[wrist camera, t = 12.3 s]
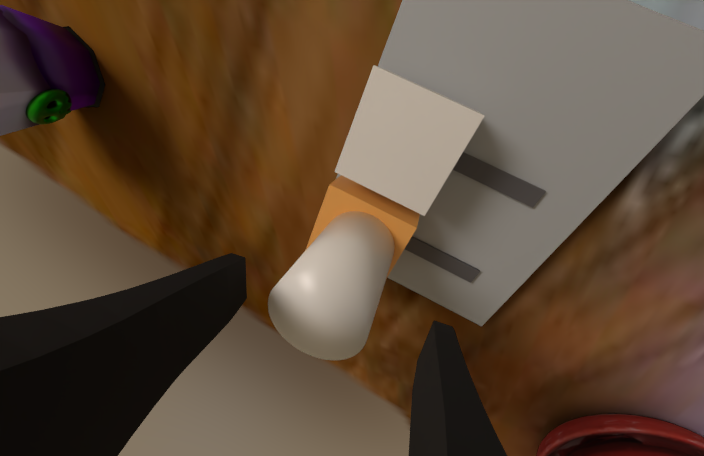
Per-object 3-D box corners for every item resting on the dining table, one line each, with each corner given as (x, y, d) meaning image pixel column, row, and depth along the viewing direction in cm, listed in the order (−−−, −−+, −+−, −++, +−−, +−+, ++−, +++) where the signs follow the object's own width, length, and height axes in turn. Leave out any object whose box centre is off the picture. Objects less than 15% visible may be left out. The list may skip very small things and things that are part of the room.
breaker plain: (478, 111, 14) (484, 115, 11) (427, 199, 16) (424, 216, 14) (385, 69, 14) (373, 65, 12) (349, 161, 16) (334, 171, 14)
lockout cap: (402, 222, 14) (377, 297, 9) (386, 282, 16) (358, 373, 11) (328, 202, 15) (267, 262, 10) (322, 263, 17) (267, 339, 12)
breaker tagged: (421, 209, 16) (416, 228, 14) (385, 271, 19) (377, 294, 17) (344, 172, 17) (329, 184, 15) (319, 237, 19) (303, 255, 17)
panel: (725, 51, 11) (753, 48, 10) (480, 316, 20) (481, 328, 19) (433, -67, 12) (431, -81, 11) (318, 232, 21) (312, 240, 20)
